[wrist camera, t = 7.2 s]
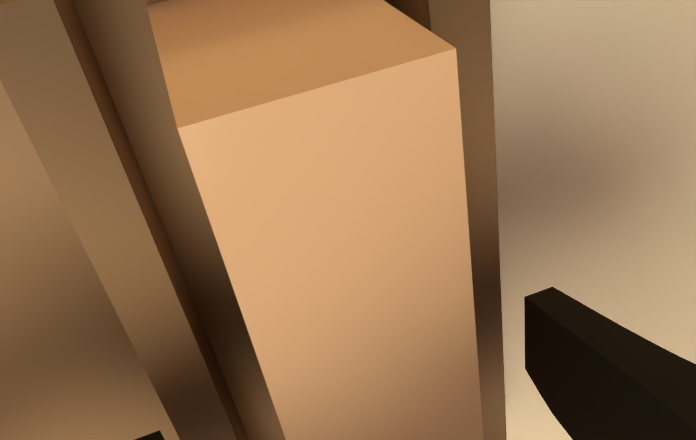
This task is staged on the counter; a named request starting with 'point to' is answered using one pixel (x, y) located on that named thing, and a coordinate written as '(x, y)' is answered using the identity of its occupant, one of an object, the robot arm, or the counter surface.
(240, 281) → the clay bar
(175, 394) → the drying rack
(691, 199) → the counter surface
